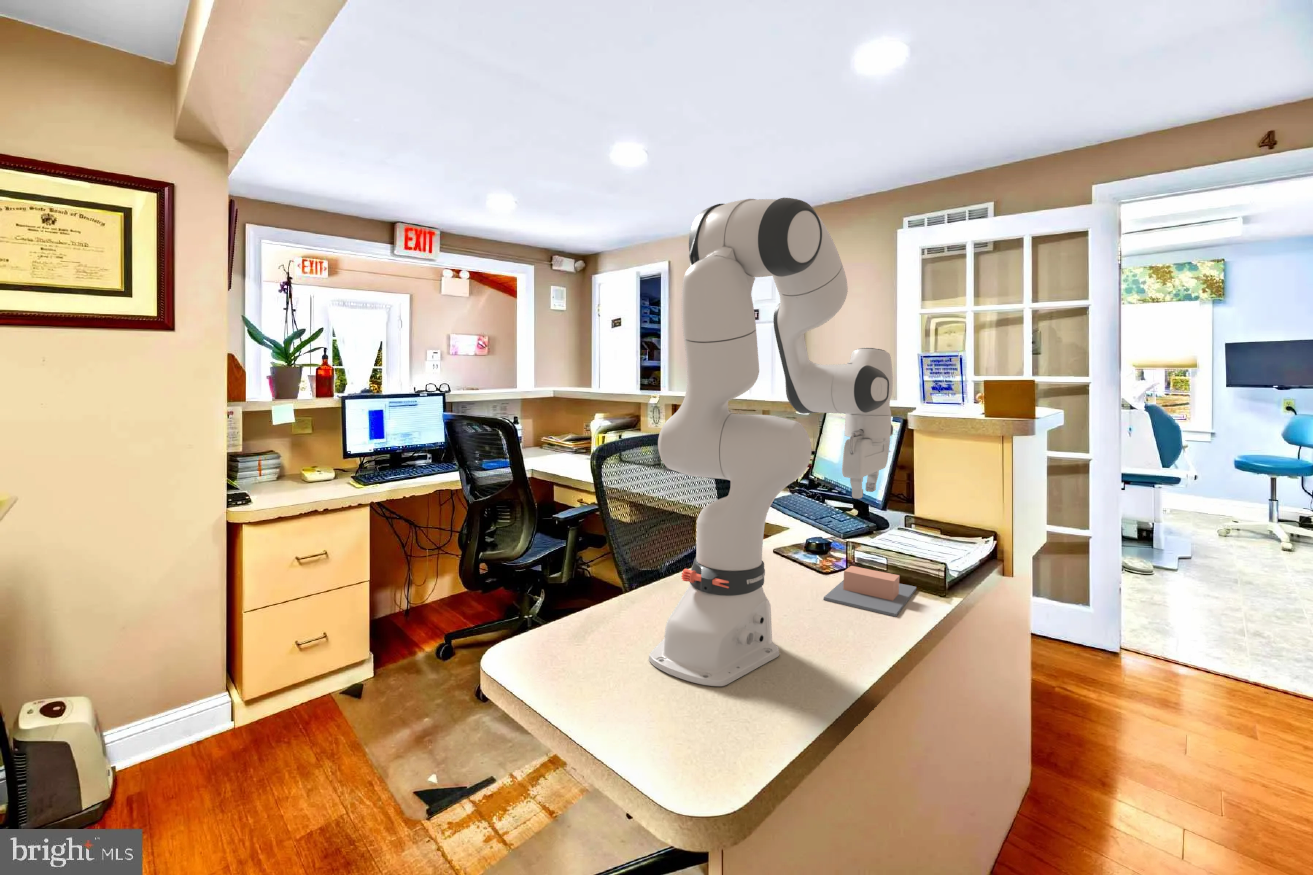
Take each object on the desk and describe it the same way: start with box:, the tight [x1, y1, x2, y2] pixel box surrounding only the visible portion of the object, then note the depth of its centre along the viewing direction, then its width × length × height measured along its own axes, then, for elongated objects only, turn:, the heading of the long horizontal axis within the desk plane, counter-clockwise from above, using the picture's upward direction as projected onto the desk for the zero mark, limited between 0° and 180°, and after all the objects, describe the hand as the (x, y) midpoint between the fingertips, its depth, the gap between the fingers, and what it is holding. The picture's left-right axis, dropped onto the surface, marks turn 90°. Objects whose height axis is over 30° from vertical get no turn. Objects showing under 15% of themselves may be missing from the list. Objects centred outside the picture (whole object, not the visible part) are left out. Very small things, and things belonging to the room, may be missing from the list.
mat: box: [823, 579, 917, 618], centre depth 119 cm, size 18×14×1 cm
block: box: [843, 565, 900, 601], centre depth 119 cm, size 4×4×10 cm
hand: (864, 494), depth 118 cm, fingers open, 8 cm apart
